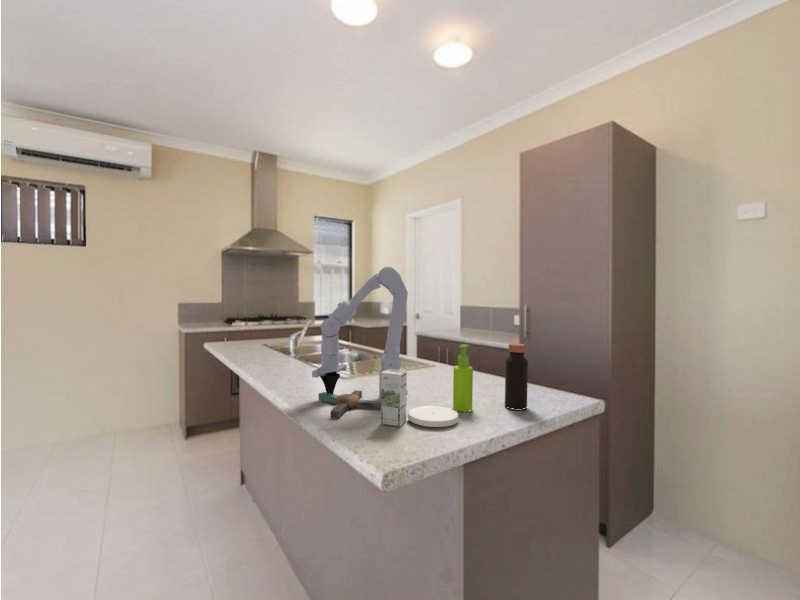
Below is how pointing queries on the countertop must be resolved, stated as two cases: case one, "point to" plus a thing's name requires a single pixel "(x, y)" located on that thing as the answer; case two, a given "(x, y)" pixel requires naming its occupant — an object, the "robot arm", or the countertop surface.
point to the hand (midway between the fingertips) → (329, 395)
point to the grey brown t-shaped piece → (352, 404)
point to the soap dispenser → (463, 382)
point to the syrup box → (393, 397)
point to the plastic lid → (433, 416)
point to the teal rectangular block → (328, 397)
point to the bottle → (516, 377)
